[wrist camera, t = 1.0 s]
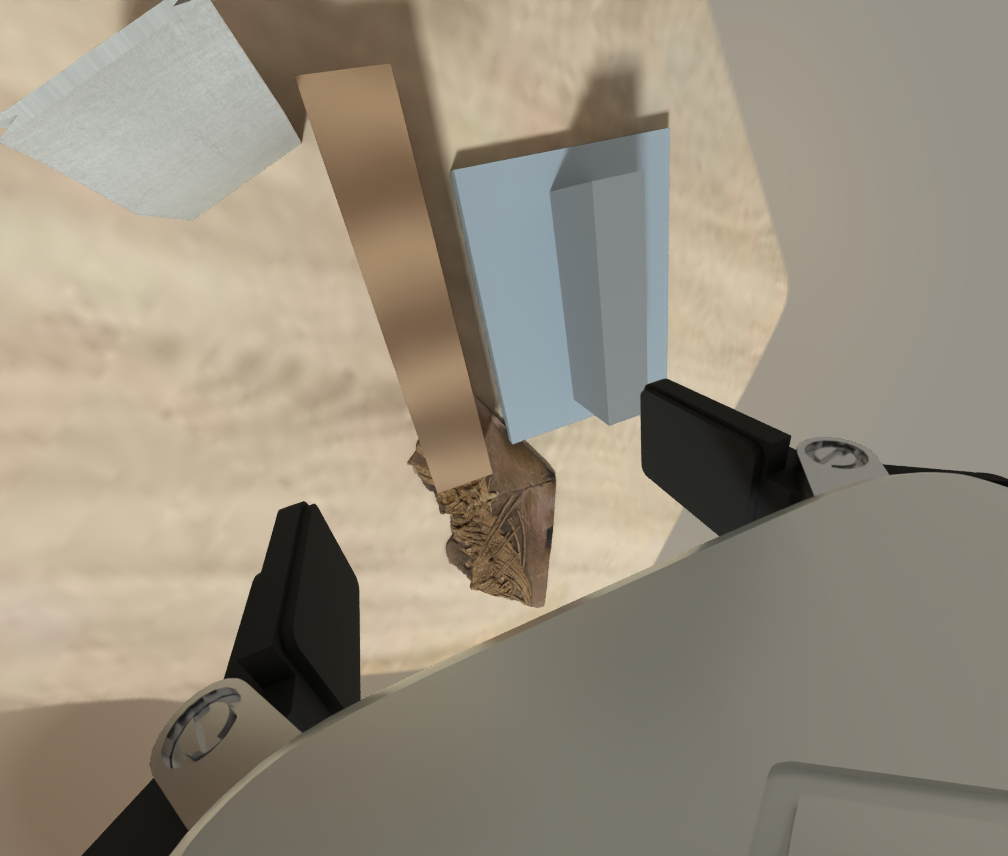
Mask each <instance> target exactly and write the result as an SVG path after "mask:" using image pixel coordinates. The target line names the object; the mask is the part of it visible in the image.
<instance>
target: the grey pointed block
mask: <svg viewBox="0 0 1008 856" xmlns="http://www.w3.org/2000/svg"><path fill="white" fill-rule="evenodd" d="M0 128H6V129H7V130H6V131H5V132H4V134H3V135H2V136H1V138H0V143H1V144H3V145H5V146H8V147H10V148H12V149H14V150H17V151H19V152H21V153H24V154H26V155H28V156H29V157H31V158H33V159H35V160H37V161H39V162H41V163H43V164H45V165H47V166H49V167H51V168H53V169H55V170H56V171H58V172H60V173H62V174H64V175H66V176H68V177H70V178H71V179H73V180H75V181H77V182H79V183H80V184H82V185H84V186H86V187H87V188H89V189H91V190H93V191H95V192H96V193H98V194H100V195H102V196H104V197H105V198H107V199H109V200H111V201H113V202H114V203H116V204H118V205H120V206H122V207H123V208H125V209H127V210H129V211H131V212H132V213H134V214H136V215H145V216H154V217H162V218H171V219H180V220H189V221H193V220H194V219H196V218H197V217H198V216H200V215H201V214H203V213H204V212H205V211H207V210H208V209H210V208H211V207H212V206H214V205H215V204H217V203H218V202H220V201H221V200H222V199H224V198H225V197H227V196H228V195H229V194H231V193H232V192H234V191H235V190H236V189H238V188H239V187H241V186H242V185H243V184H245V183H246V182H248V181H249V180H250V179H252V178H253V177H255V176H256V175H257V174H259V173H260V172H262V171H263V170H265V169H266V168H267V167H269V166H270V165H272V164H273V163H274V162H276V161H277V160H279V159H280V158H281V157H283V156H284V155H286V154H287V153H288V152H290V151H291V150H293V149H294V148H295V147H297V146H298V145H300V144H301V141H300V139H299V137H298V136H297V134H296V132H295V130H294V129H293V127H292V125H291V123H290V122H289V120H288V118H287V116H286V115H285V113H284V111H283V110H282V108H281V107H280V105H279V104H278V102H277V101H276V99H275V98H274V96H273V94H272V93H271V91H270V90H269V88H268V87H267V85H266V84H265V82H264V81H263V79H262V78H261V76H260V75H259V73H258V72H257V70H256V69H255V67H254V66H253V64H252V63H251V61H250V60H249V58H248V57H247V55H246V54H245V52H244V51H243V49H242V48H241V46H240V45H239V43H238V42H237V40H236V39H235V37H234V36H233V34H232V33H231V31H230V30H229V28H228V26H227V25H226V23H225V22H224V20H223V19H222V17H221V16H220V14H219V13H218V11H217V10H216V8H215V6H214V5H213V3H212V2H211V0H163V1H162V2H160V3H159V4H158V5H156V6H155V7H153V8H152V9H150V10H149V11H147V12H146V13H145V14H143V15H142V16H140V17H139V18H137V19H136V20H135V21H133V22H132V23H130V24H129V25H127V26H126V27H125V28H123V29H122V30H120V31H119V32H117V33H116V34H115V35H113V36H112V37H110V38H109V39H107V40H106V41H104V42H103V43H102V44H100V45H99V46H97V47H96V48H94V49H93V50H92V51H90V52H89V53H87V54H86V55H84V56H83V57H82V58H80V59H79V60H77V61H76V62H74V63H73V64H71V65H70V66H69V67H67V68H66V69H64V70H63V71H61V72H60V73H59V74H57V75H56V76H54V77H53V78H51V79H50V80H49V81H47V82H46V83H44V84H43V85H41V86H40V87H39V88H37V89H36V90H34V91H33V92H31V93H30V94H28V95H27V96H26V97H24V98H23V99H21V100H20V101H18V102H17V103H16V104H14V105H13V106H11V107H10V108H8V109H7V110H6V111H4V112H3V113H1V114H0Z"/></svg>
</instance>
